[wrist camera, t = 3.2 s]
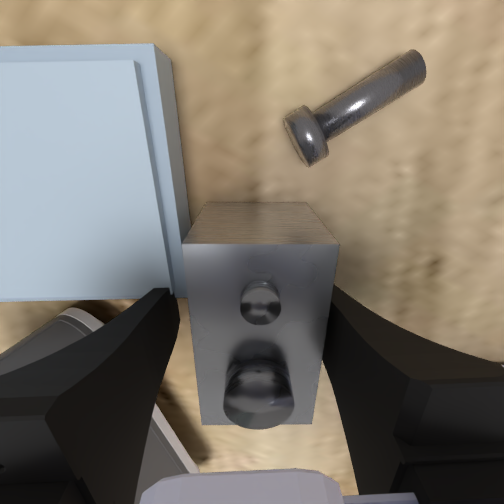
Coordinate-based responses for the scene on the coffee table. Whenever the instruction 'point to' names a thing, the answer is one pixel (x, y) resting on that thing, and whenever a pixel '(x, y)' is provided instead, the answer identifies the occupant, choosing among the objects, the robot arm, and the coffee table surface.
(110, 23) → the coffee table surface
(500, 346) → the coffee table surface
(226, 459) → the coffee table surface
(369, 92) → the bolt
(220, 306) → the block
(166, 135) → the stand
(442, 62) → the coffee table surface
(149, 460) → the camera
